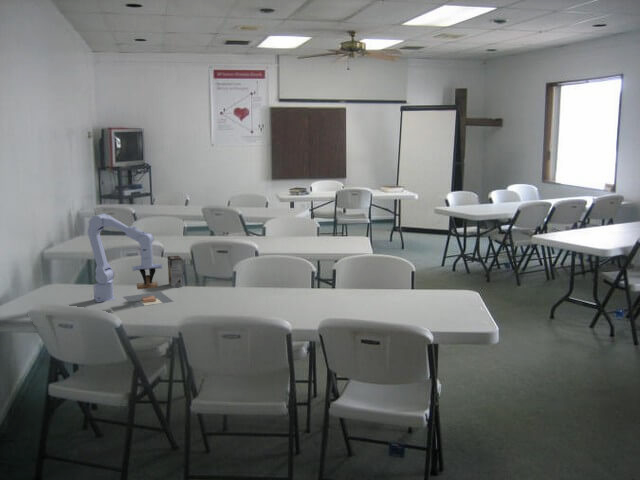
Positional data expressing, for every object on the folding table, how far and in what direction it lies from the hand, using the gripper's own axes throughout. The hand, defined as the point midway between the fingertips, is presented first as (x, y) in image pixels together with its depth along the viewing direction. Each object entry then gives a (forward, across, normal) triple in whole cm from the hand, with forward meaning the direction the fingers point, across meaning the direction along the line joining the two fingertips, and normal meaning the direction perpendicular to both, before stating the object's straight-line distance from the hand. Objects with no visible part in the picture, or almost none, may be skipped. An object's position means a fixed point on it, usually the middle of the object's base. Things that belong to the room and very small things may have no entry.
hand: (148, 283), depth 313 cm
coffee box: (+10, -19, -26) cm, 34 cm away
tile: (+9, 0, +1) cm, 9 cm away
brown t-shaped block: (+3, 0, -4) cm, 4 cm away
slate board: (+9, 0, -2) cm, 9 cm away
